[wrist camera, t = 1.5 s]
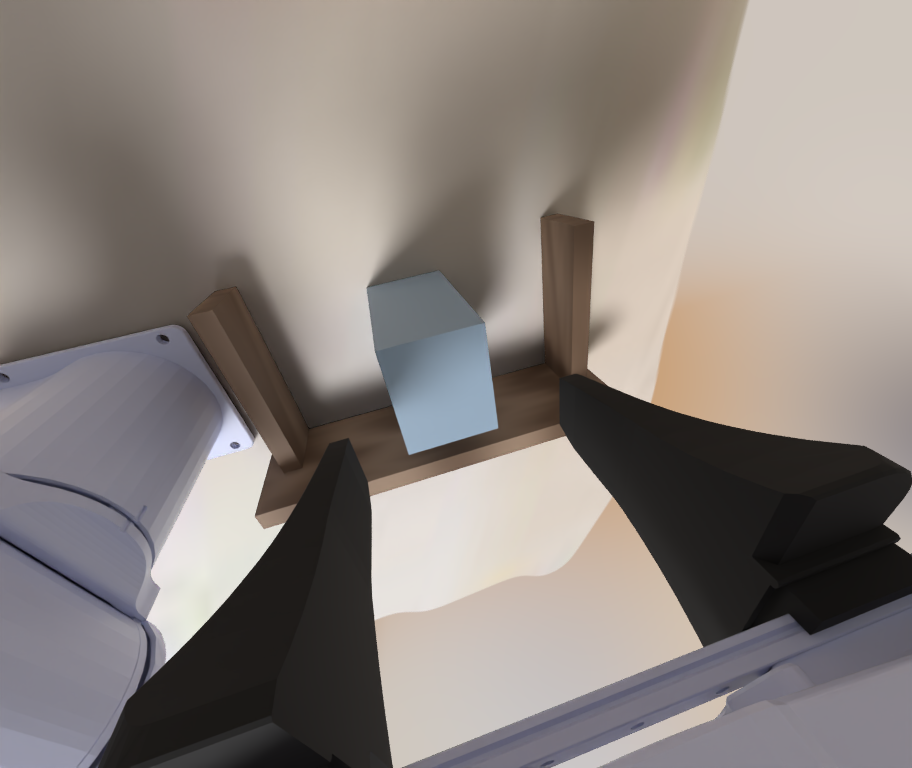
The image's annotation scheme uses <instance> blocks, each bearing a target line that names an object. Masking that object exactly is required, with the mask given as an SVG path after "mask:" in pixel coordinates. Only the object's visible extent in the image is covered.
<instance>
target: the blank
mask: <svg viewBox="0 0 912 768" xmlns="http://www.w3.org/2000/svg"><path fill="white" fill-rule="evenodd" d="M367 294H368V301H369V309H370V317H371V324H372V332H373V340H374V347H375V353H376V356H377V359H378V362H379V365H380V368H381V371H382V374H383V377H384V380H385V383H386V386H387V389H388V393H389V396H390V399H391V402H392V405H393V408H394V411H395V414H396V417H397V420H398V423H399V426H400V429H401V432H402V435H403V438H404V441H405V445H406V448H407V451H408V454H409V455H411V454H414V453H417V452H421V451H424V450H427V449H431V448H434V447H437V446H441V445H444V444H447V443H451V442H454V441H457V440H461V439H464V438H467V437H471V436H474V435H477V434H481V433H484V432H487V431H491V430H494V429H497V428H498V421H497V414H496V406H495V398H494V390H493V382H492V374H491V367H490V359H489V351H488V343H487V335H486V327H485V322H484V321H483V320H482V319H481V318H480V317H479V315H478V314H477V313H476V312H475V311H474V310H473V309H472V307H471V306H470V305H469V304H468V303H467V302H466V301H465V299H464V298H463V297H462V296H461V295H460V294H459V293H458V291H457V290H456V289H455V288H454V287H453V286H452V285H451V283H450V282H449V281H448V280H447V279H446V278H445V277H444V275H443V274H442V273H441V272H440V271H439V270H438V271H434V272H430V273H426V274H421V275H417V276H413V277H409V278H405V279H400V280H396V281H392V282H388V283H384V284H379V285H375V286H371V287H367Z"/></svg>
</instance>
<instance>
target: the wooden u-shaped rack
mask: <svg viewBox="0 0 912 768" xmlns="http://www.w3.org/2000/svg"><path fill="white" fill-rule="evenodd" d="M593 235H594V221H589V220H585V219H580V218H575V217H570V216H566V215H561V214H555V215H550V216H546V217H541V246H542V280H543V314H544V349H545V363H543V364H540V365H536V366H533V367H529V368H526V369H522V370H518V371H515V372H511V373H508V374H504V375H501V376H497V377H493V378H492V382H493V390H494V398H495V406H496V414H497V421H498V428H497V429H494V430H491V431H487V432H484V433H481V434H477V435H474V436H471V437H467V438H464V439H461V440H457V441H454V442H451V443H447V444H444V445H441V446H437V447H434V448H431V449H427V450H424V451H421V452H417V453H414V454H411V455H409V454H408V451H407V448H406V445H405V441H404V438H403V435H402V432H401V429H400V426H399V423H398V420H397V417H396V414H395V411H394V408H393V406H390V407H386V408H383V409H379V410H376V411H372V412H368V413H365V414H361V415H358V416H354V417H351V418H347V419H343V420H340V421H336V422H333V423H329V424H326V425H322V426H318V427H315V428H311V429H309V428H308V426H307V424H306V422H305V420H304V418H303V416H302V414H301V412H300V411H299V409H298V407H297V405H296V403H295V401H294V399H293V397H292V395H291V393H290V391H289V389H288V387H287V385H286V383H285V381H284V379H283V377H282V375H281V373H280V371H279V369H278V368H277V366H276V364H275V362H274V360H273V358H272V356H271V354H270V352H269V350H268V348H267V346H266V344H265V342H264V340H263V338H262V336H261V334H260V332H259V330H258V328H257V327H256V325H255V323H254V321H253V319H252V317H251V315H250V313H249V311H248V309H247V307H246V305H245V303H244V301H243V299H242V297H241V295H240V293H239V291H238V289H237V287H232V288H228V289H223V290H219V291H215V292H214V293H212V294H211V295H210V296H209V297H208V298H207V299H206V300H205V301H203V302H202V303H201V304H200V305H199V306H198V307H197V308H195V309H194V310H193V311H192V312H191V313H190V314H189V315H188V316H187V317H188V319H189V320H190V322H191V324H192V325H193V327H194V329H195V330H196V332H197V333H198V335H199V337H200V338H201V340H202V341H203V343H204V345H205V346H206V348H207V350H208V351H209V353H210V354H211V356H212V358H213V359H214V361H215V363H216V364H217V366H218V367H219V369H220V371H221V372H222V374H223V375H224V377H225V379H226V380H227V382H228V384H229V385H230V387H231V388H232V390H233V392H234V393H235V395H236V397H237V398H238V400H239V401H240V403H241V405H242V406H243V408H244V409H245V411H246V413H247V414H248V416H249V418H250V419H251V421H252V422H253V424H254V426H255V427H256V429H257V430H258V432H259V434H260V435H261V437H262V439H263V440H264V442H265V443H266V445H267V447H268V448H269V450H270V452H271V453H272V456H271V460H270V464H269V467H268V471H267V474H266V478H265V481H264V485H263V488H262V492H261V496H260V499H259V503H258V506H257V510H256V513H255V518H256V519H257V520H258V522H259V523H260V524H261V526H262V527H263V528H264V529H266V528H269V527H272V526H275V525H279V524H282V523H285V522H286V521H287V519H288V518H289V516H290V514H291V513H292V511H293V510H294V508H295V506H296V505H297V503H298V501H299V500H300V498H301V496H302V494H303V492H304V491H305V489H306V487H307V485H308V483H309V481H310V480H311V478H312V476H313V474H314V472H315V470H316V468H317V466H318V464H319V462H320V460H321V458H322V456H323V454H324V452H325V450H326V448H327V446H328V445H329V443H332V442H336V441H339V440H343V439H346V438H349V440H350V442H351V444H352V447H353V449H354V451H355V453H356V456H357V458H358V460H359V462H360V465H361V467H362V469H363V472H364V474H365V476H366V478H367V481H368V486H369V493H370V496H372V495H376V494H379V493H382V492H385V491H389V490H392V489H395V488H398V487H402V486H405V485H408V484H411V483H414V482H418V481H421V480H424V479H427V478H431V477H434V476H437V475H440V474H444V473H447V472H450V471H453V470H457V469H460V468H463V467H466V466H469V465H473V464H476V463H479V462H482V461H486V460H489V459H492V458H495V457H499V456H502V455H505V454H508V453H512V452H515V451H518V450H521V449H525V448H528V447H531V446H534V445H537V444H541V443H544V442H547V441H550V440H554V439H557V438H560V437H563V436H566V435H565V433H564V431H563V429H562V428H561V426H560V418H559V378H561V377H565V376H569V375H572V374H579V375H582V376H584V377H587V378H590V379H592V380H594V381H597V382H599V383H601V384H604V385H606V384H605V383H604V382H603V381H601V380H600V379H599V378H598V377H597V376H595V375H594V374H593V373H592V372H591V371H590V370H588V369H587V363H588V342H589V320H590V299H591V278H592V256H593ZM606 386H607V385H606Z"/></svg>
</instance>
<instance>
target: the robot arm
mask: <svg viewBox="0 0 912 768" xmlns="http://www.w3.org/2000/svg"><path fill="white" fill-rule="evenodd" d="M160 335H165V336H167V337H168V338H169V341H164V340H162V339H161V338H160ZM1 373H3V374H5V375H7V376H8V377H9V378H10V379H9V378H6V377H4V376H3V375H2V374H1ZM559 418H560V426H561V428H562V429H563V431H564V433H565V435H566V436H567V438H568V440H569V441H570V443H571V444H572V446H573V448H574V449H575V450H576V452H577V453H578V454H579V455H580V457H581V458H582V459H583V460H584V462H585V463H586V464H587V465H588V467H589V468H590V469H591V470H592V472H593V473H594V474H595V475H596V476H597V478H598V479H599V480H600V481H601V483H602V484H603V485H604V486H605V488H606V489H607V490H608V491H609V492H610V494H611V495H612V496H613V497H614V498H615V500H616V501H617V503H618V504H619V505H620V507H621V508H622V509H623V511H624V512H625V514H626V515H627V517H628V519H629V520H630V522H631V523H632V525H633V526H634V527H635V529H636V531H637V532H638V534H639V535H640V537H641V539H642V540H643V542H644V543H645V545H646V547H647V548H648V550H649V551H650V553H651V555H652V556H653V558H654V560H655V561H656V563H657V564H658V566H659V568H660V569H661V571H662V573H663V574H664V576H665V578H666V580H667V581H668V583H669V585H670V586H671V588H672V590H673V592H674V593H675V595H676V597H677V599H678V601H679V602H680V604H681V606H682V608H683V610H684V612H685V613H686V615H687V617H688V619H689V621H690V623H691V624H692V626H693V628H694V630H695V632H696V634H697V635H698V637H699V639H700V641H701V643H702V645H703V648H701V649H698V650H696V651H693V652H691V653H688V654H686V655H683V656H681V657H678V658H676V659H673V660H671V661H668V662H666V663H663V664H661V665H658V666H656V667H653V668H651V669H648V670H646V671H643V672H640V673H638V674H636V675H633V676H631V677H628V678H625V679H623V680H621V681H618V682H615V683H613V684H610V685H608V686H605V687H603V688H600V689H598V690H595V691H593V692H590V693H588V694H585V695H583V696H580V697H578V698H575V699H573V700H570V701H568V702H565V703H563V704H560V705H558V706H555V707H553V708H550V709H548V710H545V711H543V712H540V713H538V714H535V715H533V716H530V717H528V718H525V719H523V720H520V721H518V722H516V723H513V724H510V725H508V726H505V727H503V728H500V729H498V730H495V731H493V732H490V733H488V734H485V735H483V736H480V737H478V738H475V739H473V740H470V741H467V742H465V743H462V744H460V745H457V746H455V747H452V748H450V749H447V750H445V751H442V752H440V753H437V754H435V755H432V756H430V757H428V758H425V759H422V760H420V761H418V762H415V763H413V764H410V765H407V766H405V767H402V768H551V767H553V766H556V765H558V764H560V763H563V762H565V761H568V760H570V759H572V758H575V757H577V756H579V755H582V754H584V753H587V752H589V751H591V750H593V749H596V748H599V747H601V746H603V745H606V744H608V743H610V742H613V741H615V740H618V739H620V738H622V737H625V736H627V735H630V734H632V733H634V732H637V731H639V730H641V729H644V728H646V727H648V726H651V725H653V724H656V723H658V722H660V721H663V720H665V719H668V718H670V717H672V716H675V715H677V714H679V713H682V712H684V711H686V710H689V709H691V708H694V707H696V706H699V705H701V704H703V703H706V702H708V701H711V700H713V699H715V698H717V697H720V696H722V695H725V694H727V693H729V692H732V691H734V690H737V689H739V688H741V689H739V690H738V691H736V692H734V693H732V694H731V695H729V696H728V697H727V700H726V706H725V707H724V709H723V710H722V712H721V713H720V715H719V716H718V717H716V718H715V719H714V720H711V721H709V722H706V723H703V724H700V725H698V726H695V727H693V728H690V729H687V730H685V731H682V732H680V733H677V734H675V735H672V736H670V737H667V738H665V739H662V740H660V741H657V742H655V743H653V744H650V745H648V746H646V747H643V748H641V749H639V750H636V751H634V752H632V753H629V754H627V755H625V756H622V757H620V758H618V759H616V760H614V761H611V762H609V763H607V764H605V765H603V766H601V767H599V768H912V553H911V554H909V553H908V552H906V551H905V550H903V549H902V548H900V547H899V546H897V545H896V544H895V543H896V542H898V541H899V540H900V537H899V535H898V534H897V533H895V532H894V531H892V530H891V529H889V528H888V527H886V526H885V525H883V523H884V522H885V521H886V520H887V518H888V517H889V516H890V515H891V513H892V512H893V511H894V510H895V508H896V507H897V506H898V505H899V504H900V502H901V501H902V500H903V499H904V497H905V496H906V494H907V493H908V491H909V490H910V487H911V485H912V475H911V471H909V470H907V469H906V468H904V467H902V466H900V465H898V464H897V463H895V462H893V461H891V460H889V459H888V458H886V457H884V456H882V455H880V454H879V453H877V452H875V451H873V450H871V449H869V448H867V447H865V446H860V445H850V444H841V443H832V442H822V441H813V440H805V439H798V438H791V437H785V436H778V435H771V434H766V433H761V432H755V431H750V430H745V429H740V428H736V427H731V426H726V425H722V424H718V423H714V422H709V421H705V420H702V419H699V418H695V417H691V416H688V415H684V414H681V413H678V412H675V411H672V410H668V409H666V408H663V407H660V406H657V405H654V404H651V403H649V402H646V401H643V400H641V399H638V398H635V397H633V396H630V395H628V394H625V393H623V392H621V391H618V390H616V389H613V388H611V387H609V386H606V385H604V384H601V383H599V382H597V381H594V380H592V379H590V378H587V377H584V376H582V375H579V374H572V375H569V376H565V377H561V378H559ZM254 441H255V439H254V436H253V435H252V433H251V432H250V430H249V428H248V427H247V425H246V424H245V422H244V420H243V419H242V417H241V416H240V414H239V413H238V411H237V409H236V408H235V406H234V405H233V403H232V402H231V400H230V398H229V397H228V395H227V394H226V392H225V390H224V389H223V387H222V386H221V384H220V383H219V381H218V379H217V378H216V376H215V375H214V373H213V372H212V370H211V368H210V367H209V365H208V364H207V362H206V360H205V359H204V357H203V356H202V354H201V353H200V351H199V349H198V348H197V346H196V345H195V343H194V342H193V340H192V338H191V337H190V335H189V334H188V332H187V331H186V330H185V329H184V328H183V327H181V326H178V325H168V326H164V327H160V328H155V329H151V330H147V331H142V332H138V333H134V334H130V335H125V336H121V337H117V338H112V339H108V340H104V341H100V342H95V343H91V344H87V345H83V346H78V347H74V348H70V349H65V350H61V351H57V352H53V353H48V354H44V355H40V356H36V357H31V358H27V359H23V360H18V361H14V362H10V363H6V364H1V365H0V768H393V765H392V759H391V752H390V745H389V737H388V730H387V723H386V716H385V709H384V701H383V694H382V685H381V677H380V669H379V660H378V651H377V642H376V632H375V622H374V611H373V601H372V583H371V548H372V510H371V502H370V493H369V486H368V481H367V478H366V476H365V474H364V472H363V469H362V467H361V465H360V462H359V460H358V458H357V456H356V453H355V451H354V449H353V447H352V444H351V442H350V440H349V438H346V439H343V440H339V441H336V442H332V443H329V445H328V446H327V448H326V450H325V452H324V454H323V456H322V458H321V460H320V462H319V464H318V466H317V468H316V470H315V472H314V474H313V476H312V478H311V480H310V481H309V483H308V485H307V487H306V489H305V491H304V492H303V494H302V496H301V498H300V500H299V501H298V503H297V505H296V506H295V508H294V510H293V511H292V513H291V514H290V516H289V518H288V519H287V521H286V523H285V524H284V526H283V527H282V529H281V530H280V532H279V533H278V535H277V536H276V538H275V539H274V541H273V542H272V544H271V545H270V546H269V548H268V549H267V550H266V552H265V553H264V554H263V556H262V557H261V559H260V560H259V561H258V562H257V564H256V565H255V566H254V567H253V569H252V570H251V571H250V572H249V573H248V575H247V576H246V577H245V578H244V580H243V581H242V582H241V583H240V584H239V586H238V587H237V588H236V589H235V590H234V592H233V593H232V594H231V595H230V596H229V598H228V599H227V600H226V601H225V602H224V603H223V604H222V605H221V607H220V608H219V609H218V610H217V611H216V612H215V613H214V614H213V615H212V617H211V618H210V619H209V620H208V621H207V622H206V623H205V624H204V625H203V626H202V627H201V628H200V629H199V630H198V631H197V632H196V634H195V635H194V636H193V637H192V638H191V639H190V640H189V641H188V642H187V643H186V644H185V645H184V646H183V647H182V648H181V649H180V650H179V651H178V652H177V653H176V654H175V655H174V656H173V657H172V658H171V659H170V660H169V661H168V662H167V663H166V664H165V660H166V649H165V642H164V639H163V637H162V634H161V632H160V631H159V630H158V629H157V628H156V626H155V625H153V624H152V623H150V622H148V621H146V619H147V617H148V614H149V612H150V610H151V608H152V606H153V603H154V601H155V599H156V597H157V595H158V593H159V590H160V587H159V586H158V585H157V584H155V583H154V581H153V580H152V577H151V569H152V567H153V565H154V563H155V561H156V559H157V557H158V555H159V553H160V551H161V549H162V547H163V545H164V543H165V541H166V539H167V537H168V535H169V533H170V531H171V530H172V528H173V526H174V524H175V522H176V520H177V518H178V516H179V514H180V512H181V510H182V508H183V506H184V504H185V502H186V500H187V498H188V496H189V494H190V492H191V490H192V488H193V486H194V484H195V482H196V480H197V478H198V476H199V474H200V472H201V470H202V468H203V466H204V464H205V462H206V460H209V459H213V458H216V457H220V456H223V455H227V454H231V453H234V452H238V451H241V450H245V449H248V448H250V447H252V446H253V444H254ZM232 442H238V443H239V444H238V445H236V444H234V443H232Z"/></svg>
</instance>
